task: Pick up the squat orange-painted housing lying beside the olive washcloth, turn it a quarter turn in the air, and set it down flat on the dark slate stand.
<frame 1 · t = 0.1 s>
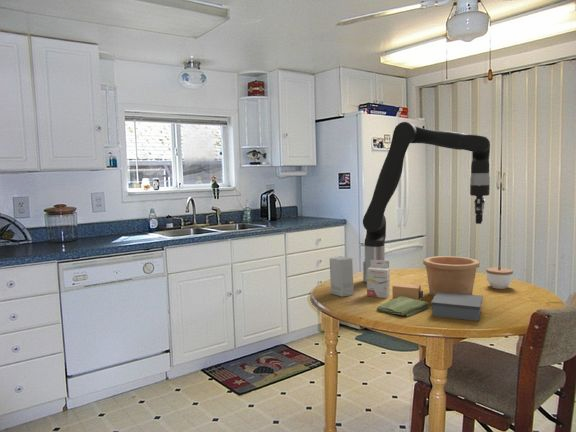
hand: (479, 222, 193), 29 cm above the table, tool pointing down, fingers open, 8 cm apart
pottery: (450, 295, 189), on the table
lidded jar: (499, 287, 201), on the table
housing: (406, 300, 182), on the table
washcloth: (403, 311, 170), on the table
ink cartridge box: (378, 296, 189), on the table
stand: (457, 312, 165), on the table
skincare box: (341, 294, 193), on the table
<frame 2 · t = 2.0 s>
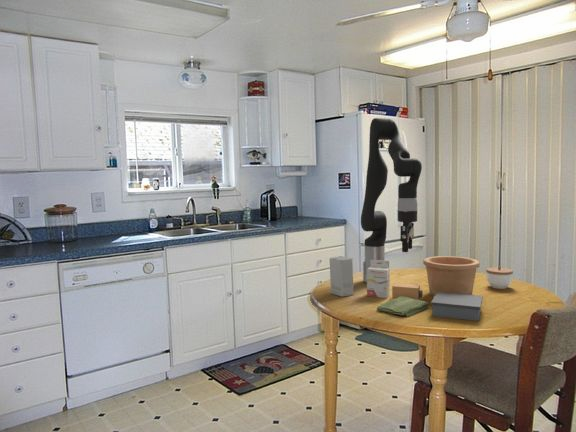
hand: (407, 250, 181), 20 cm above the table, tool pointing down, fingers open, 8 cm apart
nothing on the table moved.
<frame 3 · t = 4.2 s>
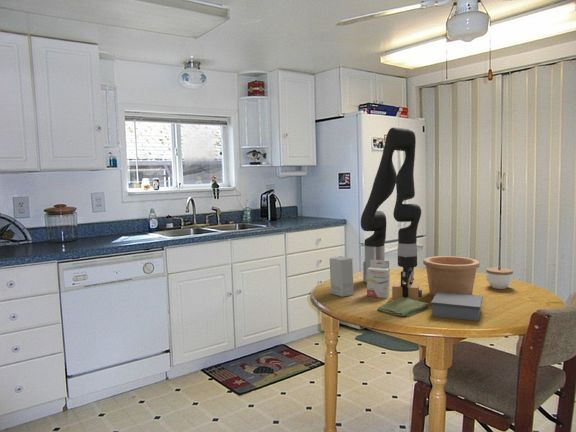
hand: (407, 294, 182), 2 cm above the table, tool pointing down, fingers open, 8 cm apart
nothing on the table moved.
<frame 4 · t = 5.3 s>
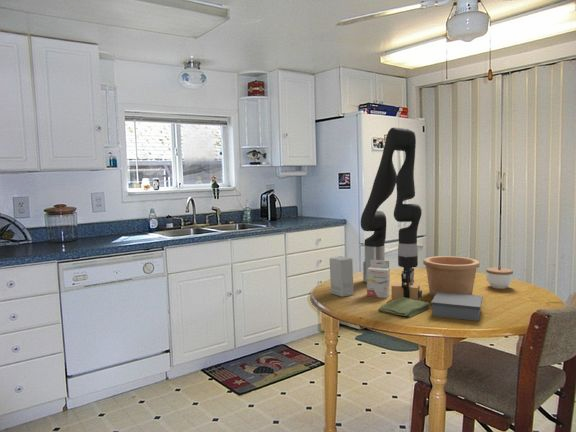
hand: (408, 296, 181), 2 cm above the table, tool pointing down, fingers closed on housing, 5 cm apart
housing: (405, 300, 182), on the table, touching gripper
washcloth: (404, 311, 169), on the table, touching gripper
everything else where it was.
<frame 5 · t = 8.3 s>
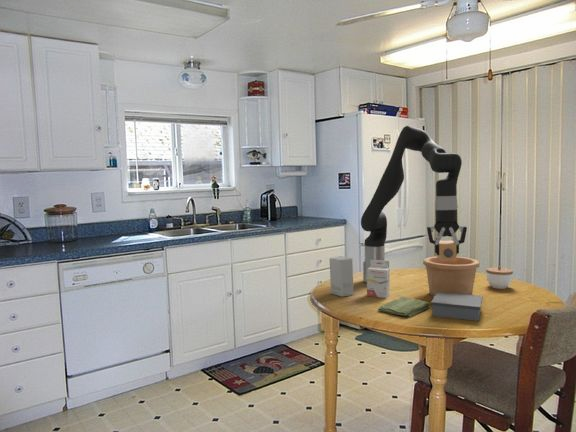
hand: (446, 254, 166), 21 cm above the table, tool pointing down, fingers closed on housing, 5 cm apart
housing: (446, 258, 167), point 19 cm above the table, touching gripper
washcloth: (404, 311, 169), on the table
everything else where it was.
when the fingers open (8 cm above the table, at t = 11.9 s): housing drops 1 cm, resting on stand.
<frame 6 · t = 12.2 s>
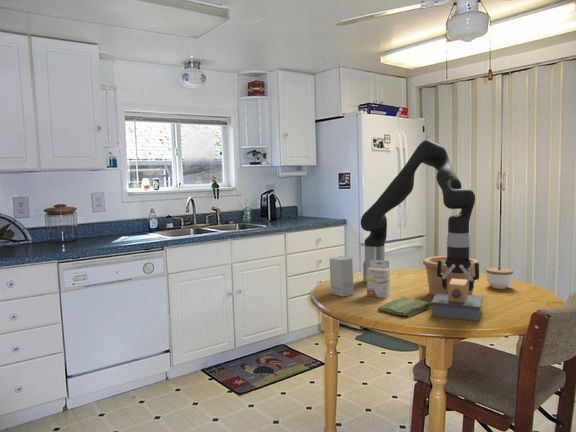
hand: (457, 289, 164), 8 cm above the table, tool pointing down, fingers open, 8 cm apart
housing: (457, 298, 165), point 5 cm above the table, touching stand
everything else where it was.
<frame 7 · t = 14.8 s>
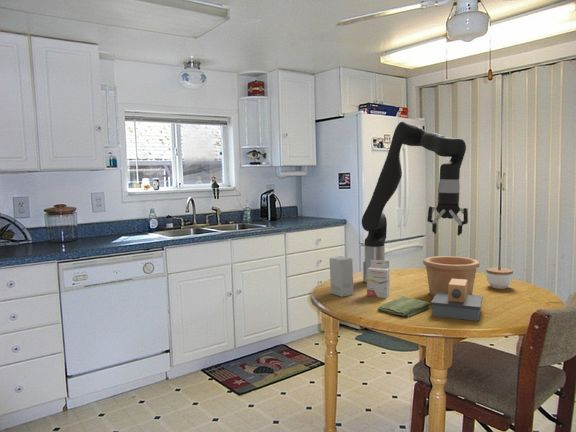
hand: (446, 234, 173), 27 cm above the table, tool pointing down, fingers open, 8 cm apart
nothing on the table moved.
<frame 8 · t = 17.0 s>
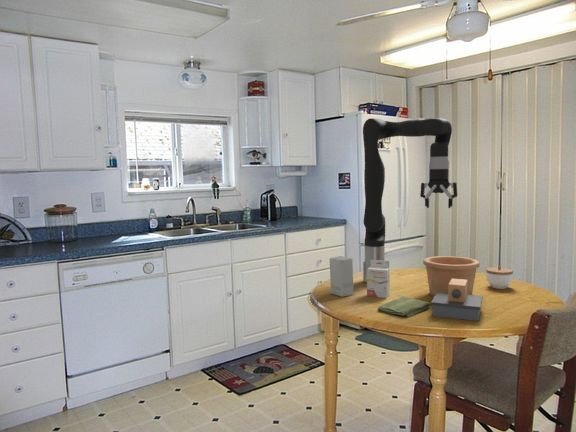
hand: (438, 207, 188), 36 cm above the table, tool pointing down, fingers open, 8 cm apart
nothing on the table moved.
at the end: housing inside the target area on the stand (1.0 cm from its centre), point 5.0 cm above the stand's base; housing tilted 0°; the gripper is holding nothing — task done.
